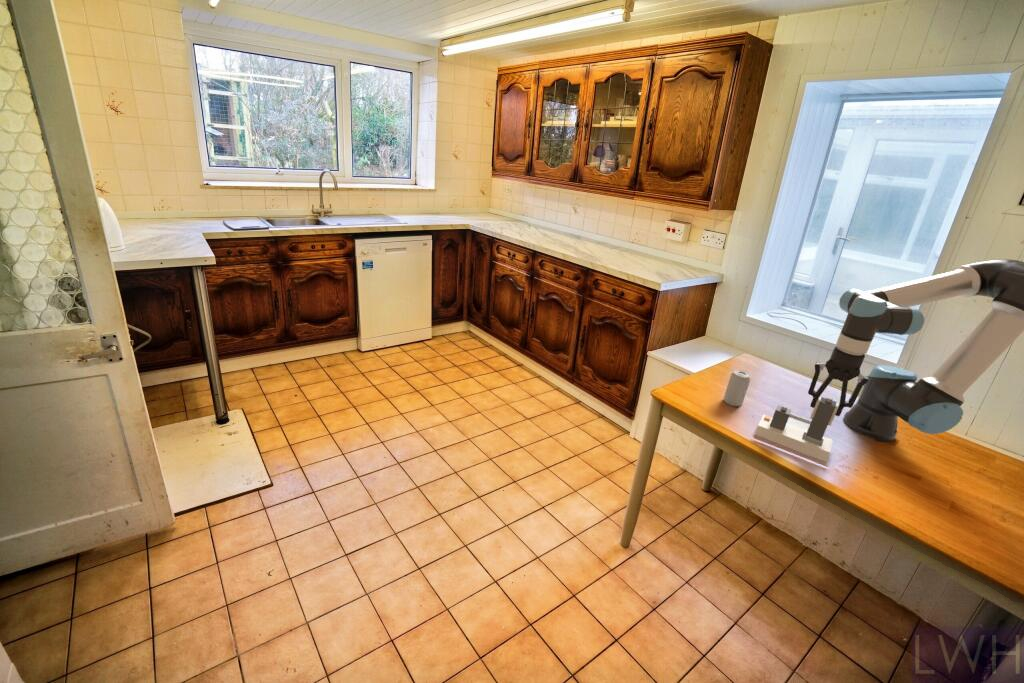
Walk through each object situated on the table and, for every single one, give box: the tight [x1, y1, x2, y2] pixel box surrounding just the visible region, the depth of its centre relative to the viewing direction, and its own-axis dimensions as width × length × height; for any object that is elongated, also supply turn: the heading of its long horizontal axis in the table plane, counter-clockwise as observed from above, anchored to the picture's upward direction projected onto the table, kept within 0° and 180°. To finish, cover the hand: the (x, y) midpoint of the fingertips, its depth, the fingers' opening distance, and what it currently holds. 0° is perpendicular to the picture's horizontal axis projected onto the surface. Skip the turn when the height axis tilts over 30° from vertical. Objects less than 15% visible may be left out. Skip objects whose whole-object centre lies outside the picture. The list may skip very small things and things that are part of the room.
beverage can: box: [723, 369, 751, 408], centre depth 169 cm, size 6×6×12 cm
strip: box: [754, 405, 833, 463], centre depth 148 cm, size 20×9×11 cm, turn 53°
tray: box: [787, 412, 812, 431], centre depth 160 cm, size 12×10×2 cm
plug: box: [806, 396, 838, 441], centre depth 143 cm, size 4×4×13 cm
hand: (820, 420), depth 144 cm, fingers closed on plug, 4 cm apart
